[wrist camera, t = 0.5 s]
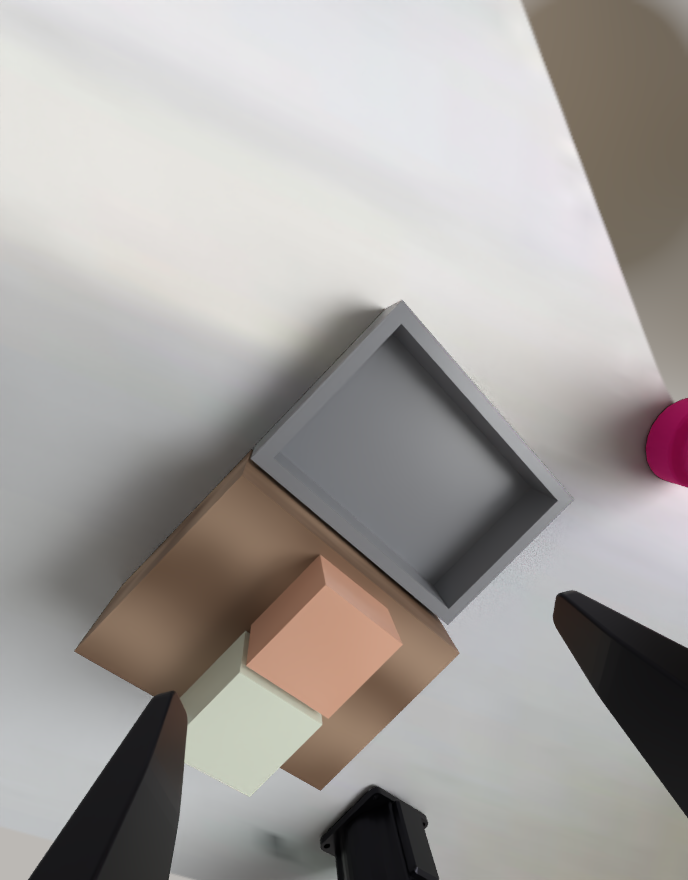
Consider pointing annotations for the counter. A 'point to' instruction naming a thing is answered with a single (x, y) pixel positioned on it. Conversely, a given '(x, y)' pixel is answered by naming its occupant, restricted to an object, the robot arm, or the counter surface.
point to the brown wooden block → (258, 610)
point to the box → (413, 465)
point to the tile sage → (243, 722)
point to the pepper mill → (670, 444)
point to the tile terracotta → (322, 638)
